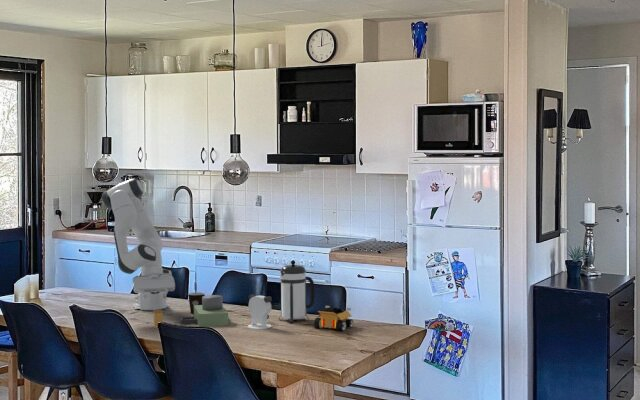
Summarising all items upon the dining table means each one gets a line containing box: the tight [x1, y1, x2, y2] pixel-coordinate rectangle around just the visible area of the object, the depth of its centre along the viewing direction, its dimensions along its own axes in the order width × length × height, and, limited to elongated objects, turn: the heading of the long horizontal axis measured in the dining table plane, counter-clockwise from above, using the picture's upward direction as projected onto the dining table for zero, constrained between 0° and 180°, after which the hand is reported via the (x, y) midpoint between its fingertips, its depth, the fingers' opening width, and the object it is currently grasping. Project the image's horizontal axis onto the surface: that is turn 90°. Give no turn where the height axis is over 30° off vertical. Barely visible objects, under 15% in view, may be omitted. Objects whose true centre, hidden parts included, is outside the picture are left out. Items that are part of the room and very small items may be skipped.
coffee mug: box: [187, 291, 206, 315], centre depth 437 cm, size 12×9×10 cm
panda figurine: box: [247, 293, 273, 330], centre depth 401 cm, size 12×11×15 cm
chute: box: [153, 309, 164, 329], centre depth 402 cm, size 4×4×8 cm
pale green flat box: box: [179, 294, 229, 327], centre depth 415 cm, size 24×22×12 cm
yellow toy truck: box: [313, 305, 354, 332], centre depth 397 cm, size 15×15×11 cm
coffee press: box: [278, 259, 315, 324], centre depth 416 cm, size 17×16×30 cm
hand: (154, 297), depth 411 cm, fingers open, 8 cm apart
